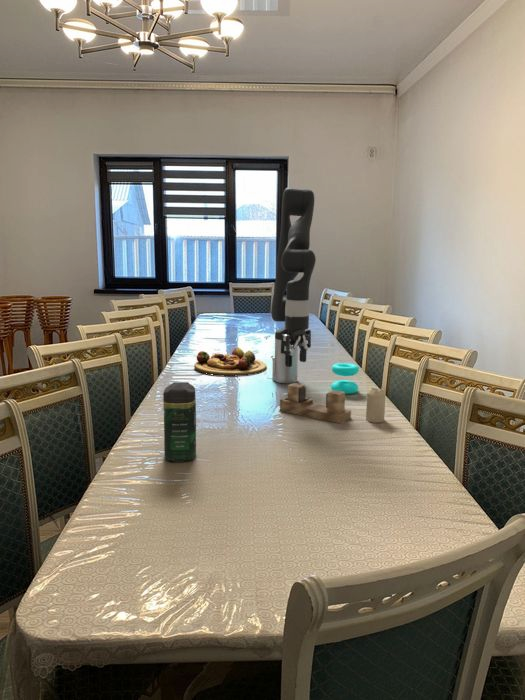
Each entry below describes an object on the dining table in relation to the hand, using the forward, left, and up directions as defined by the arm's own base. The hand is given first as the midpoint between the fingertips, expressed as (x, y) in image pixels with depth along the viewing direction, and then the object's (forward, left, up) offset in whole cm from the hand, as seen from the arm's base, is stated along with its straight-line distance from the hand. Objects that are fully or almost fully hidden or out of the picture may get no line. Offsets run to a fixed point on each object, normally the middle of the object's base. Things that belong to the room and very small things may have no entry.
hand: (295, 364), depth 166 cm
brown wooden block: (0, 0, -13) cm, 13 cm away
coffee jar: (-3, -50, -16) cm, 52 cm away
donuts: (+2, +31, -16) cm, 35 cm away
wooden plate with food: (-56, +36, -16) cm, 69 cm away
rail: (+7, 0, -15) cm, 17 cm away
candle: (+25, +6, -16) cm, 30 cm away
